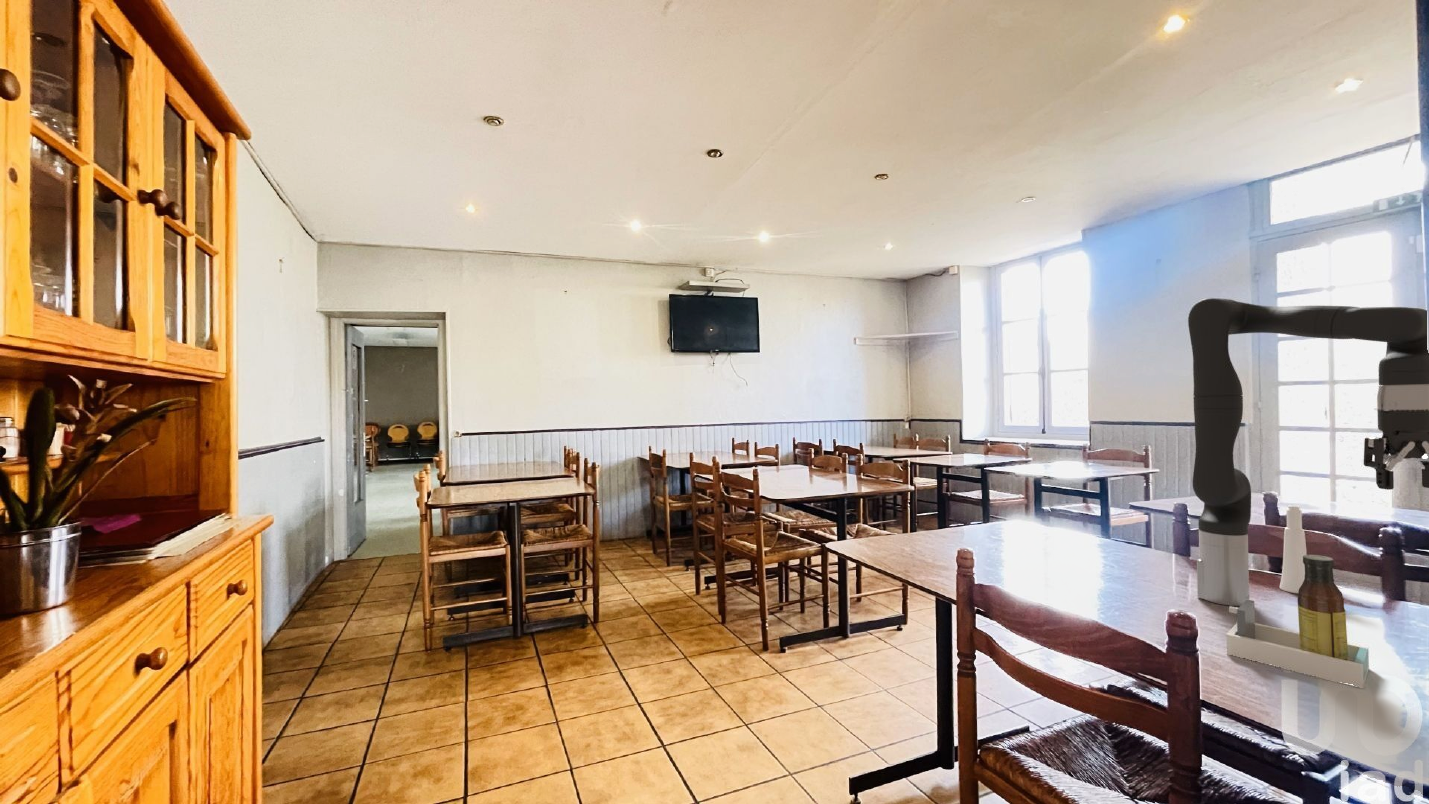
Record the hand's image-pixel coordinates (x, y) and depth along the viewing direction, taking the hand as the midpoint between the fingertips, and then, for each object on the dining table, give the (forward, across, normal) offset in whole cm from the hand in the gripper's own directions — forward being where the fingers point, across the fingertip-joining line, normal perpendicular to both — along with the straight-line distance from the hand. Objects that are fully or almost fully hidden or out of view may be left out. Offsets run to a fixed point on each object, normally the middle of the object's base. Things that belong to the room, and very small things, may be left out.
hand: (1407, 488), depth 115 cm
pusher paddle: (+31, +32, -1) cm, 45 cm away
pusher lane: (+32, +27, +5) cm, 42 cm away
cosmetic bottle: (+32, -10, -35) cm, 48 cm away
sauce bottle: (+31, +25, +8) cm, 41 cm away
